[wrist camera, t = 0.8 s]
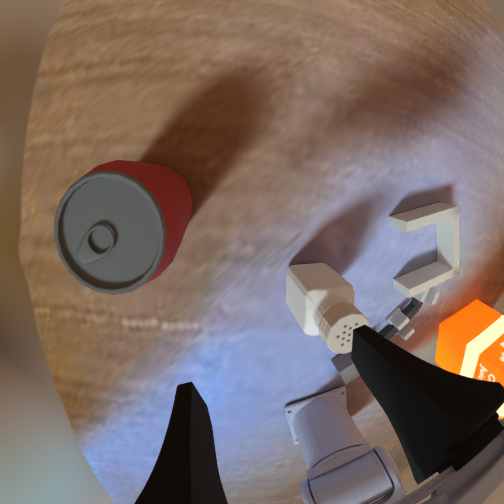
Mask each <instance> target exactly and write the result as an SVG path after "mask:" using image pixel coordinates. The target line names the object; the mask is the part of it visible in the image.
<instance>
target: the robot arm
mask: <svg viewBox="0 0 504 504" xmlns="http://www.w3.org/2000/svg"><path fill="white" fill-rule="evenodd" d="M351 359H352V361H353V363H354V365H355V367H356V369H357V371H358V373H359V374H360V376H361V378H362V379H363V381H364V382H365V384H366V385H367V387H368V388H369V389H370V391H371V392H372V394H373V395H374V397H375V398H376V400H377V401H378V402H379V404H380V405H381V407H382V408H383V410H384V411H385V413H386V415H387V416H388V418H389V420H390V422H391V424H392V426H393V428H394V430H395V432H396V434H397V436H398V438H399V440H400V442H401V445H402V447H403V449H404V452H405V454H406V457H407V459H408V462H409V465H410V467H411V470H412V473H413V476H414V479H415V481H416V482H417V484H420V483H421V482H423V481H424V480H426V479H427V478H429V477H430V476H432V475H433V474H435V473H436V472H438V473H439V475H438V476H436V477H435V478H434V479H432V480H430V481H429V482H428V483H426V484H425V485H423V486H421V487H420V488H418V489H417V490H415V491H414V492H412V493H410V494H409V495H406V492H407V491H406V488H405V486H404V484H403V482H402V478H401V475H400V472H399V470H398V468H397V466H396V464H395V462H394V461H393V459H392V457H391V456H390V454H389V453H388V452H387V450H386V449H385V448H383V447H379V446H376V447H374V448H373V449H372V448H371V446H370V444H369V443H366V442H365V440H364V438H363V437H362V435H361V433H360V431H359V430H358V428H357V426H356V425H355V423H354V421H353V419H352V418H351V416H350V414H349V412H348V411H347V400H346V388H345V386H341V387H339V388H336V389H334V390H331V391H328V392H326V393H323V394H320V395H317V396H314V397H312V398H309V399H306V400H303V401H300V402H297V403H293V404H290V405H287V406H286V407H285V408H284V410H285V413H286V417H287V420H288V424H289V427H290V431H291V434H292V438H293V441H294V444H295V445H298V444H299V445H300V448H301V451H302V453H303V456H304V459H305V461H306V464H307V467H308V471H306V474H307V476H308V479H306V480H304V481H303V482H302V485H301V487H300V490H301V495H302V499H303V502H304V504H369V503H371V502H373V501H375V500H377V499H379V498H381V497H383V496H384V497H383V498H381V499H380V500H377V501H375V502H374V503H371V504H416V503H418V502H419V501H421V500H422V499H424V498H426V497H427V496H429V495H430V494H431V498H430V499H429V500H427V501H425V502H424V503H422V504H483V503H484V502H485V501H486V500H487V499H488V497H489V496H490V495H491V494H492V493H493V492H494V491H495V490H496V488H498V486H499V485H500V484H501V483H502V481H504V418H503V419H502V420H501V421H500V422H499V421H498V418H499V414H498V413H497V410H498V409H499V408H500V407H501V406H502V405H503V403H504V387H503V386H502V384H501V383H500V382H493V381H485V380H479V379H474V378H470V377H466V376H462V375H459V374H456V373H452V372H449V371H447V370H444V369H441V368H439V367H437V366H434V365H432V364H430V363H428V362H426V361H424V360H422V359H420V358H418V357H416V356H414V355H412V354H411V353H409V352H407V351H405V350H404V349H402V348H400V347H399V346H397V345H395V344H394V343H392V342H391V341H389V340H388V339H386V338H385V337H383V336H382V335H380V334H379V333H377V332H376V331H374V330H373V329H371V328H370V327H368V326H367V325H362V326H360V327H358V328H355V329H353V340H352V353H351ZM134 504H228V503H227V500H226V497H225V494H224V490H223V487H222V483H221V480H220V476H219V471H218V466H217V459H216V452H215V445H214V437H213V430H212V424H211V420H210V416H209V412H208V408H207V405H206V403H205V402H204V400H203V399H202V397H201V396H200V394H199V392H198V391H197V389H196V388H195V386H194V385H193V383H192V382H189V383H184V384H180V385H178V386H177V389H176V395H175V400H174V405H173V409H172V413H171V417H170V421H169V425H168V429H167V432H166V436H165V439H164V442H163V445H162V448H161V451H160V454H159V456H158V459H157V461H156V464H155V466H154V468H153V471H152V473H151V475H150V477H149V479H148V481H147V483H146V485H145V487H144V489H143V490H142V492H141V494H140V495H139V497H138V499H137V500H136V502H135V503H134Z"/></svg>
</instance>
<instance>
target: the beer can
mask: <svg viewBox="0 0 504 504" xmlns="http://www.w3.org/2000/svg"><path fill="white" fill-rule="evenodd" d="M192 205H193V202H192V196H191V191H190V189H189V187H188V185H187V183H186V181H185V179H184V178H182V177H181V176H180V175H179V174H178V173H177V172H176V171H175V170H173V169H170V168H168V167H166V166H164V165H157V164H150V163H143V162H136V161H123V160H115V161H112V162H108V163H105V164H101V165H98V166H97V167H95V168H94V169H92V170H91V171H90V172H88V173H87V174H85V175H84V176H83V177H81V178H80V179H79V180H78V181H76V182H75V183H74V184H73V185H71V186H70V187H69V189H68V190H67V192H66V193H65V195H64V196H63V198H62V199H61V201H60V203H59V206H58V209H57V212H56V216H55V220H54V239H55V242H56V246H57V250H58V254H59V256H60V258H61V260H62V262H63V263H64V265H65V267H66V268H67V270H68V272H69V273H70V274H71V275H72V276H73V277H74V278H75V279H77V280H78V281H79V282H80V283H81V284H82V285H84V286H86V287H88V288H90V289H92V290H94V291H96V292H100V293H106V294H112V295H115V294H122V293H128V292H131V291H133V290H135V289H137V288H138V287H140V286H142V285H144V284H146V283H148V282H149V281H151V280H153V279H155V278H156V277H158V276H160V275H161V274H162V272H163V271H164V270H165V269H166V268H167V267H168V266H169V265H170V264H171V263H172V261H173V259H174V257H175V255H176V253H177V250H178V248H179V246H180V244H181V241H182V238H183V236H184V233H185V230H186V228H187V225H188V223H189V220H190V217H191V213H192Z"/></svg>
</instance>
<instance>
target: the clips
mask: <svg viewBox="0 0 504 504" xmlns="http://www.w3.org/2000/svg"><path fill="white" fill-rule="evenodd" d="M439 294H440V292H439V291H437V290H436V289H434V288H432V287H431V288H429V289H427V290H425V291H423V292H421V293H419V294H417V295H414V296H412V297H413V298H416V299H417V300H419V301H420V302H424V301H425V300H426V301H428V302H429V303H431V304H433V305H435V303H436V301H437V299H438V296H439ZM386 320H387V321H388V323H389V324H390V325H392V324H393V325H394V326H395V327H396V328H397V329H398V330H399V331H398V332H397V333H396V335H398V334H399V335H400V336H401V337H402V338H403V339H404V340H405V341H406V340H407V339H408V338H409V337H410V336H411V335H412V334H413V333H414V332H415V330H414V328H413V327H412V326H410V325H409V324H408V322H409V321H410V320H409V318H408V317H407V316H406V315H404V314H403V313H402V311H401V309H400V308H399V307H398V308H397V309H396V310H395V311H393V312H392V313H391V314H390V315H389V316H388V317H387V318H386Z"/></svg>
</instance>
